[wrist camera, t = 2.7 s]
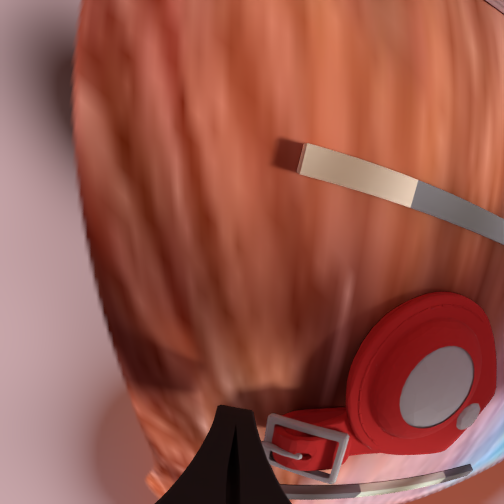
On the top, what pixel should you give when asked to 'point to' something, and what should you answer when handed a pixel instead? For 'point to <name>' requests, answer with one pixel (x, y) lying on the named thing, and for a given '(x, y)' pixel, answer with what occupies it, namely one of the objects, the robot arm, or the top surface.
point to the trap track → (416, 197)
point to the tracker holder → (397, 390)
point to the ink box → (497, 4)
